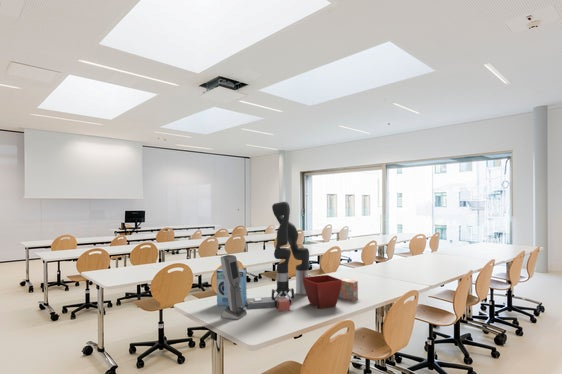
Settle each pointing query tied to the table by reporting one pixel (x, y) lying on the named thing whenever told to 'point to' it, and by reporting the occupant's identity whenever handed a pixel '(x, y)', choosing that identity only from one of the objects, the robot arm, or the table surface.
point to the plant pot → (322, 290)
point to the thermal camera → (232, 288)
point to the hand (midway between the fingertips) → (282, 305)
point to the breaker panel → (262, 302)
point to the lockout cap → (283, 304)
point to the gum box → (222, 288)
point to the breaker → (257, 299)
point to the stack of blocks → (349, 289)
